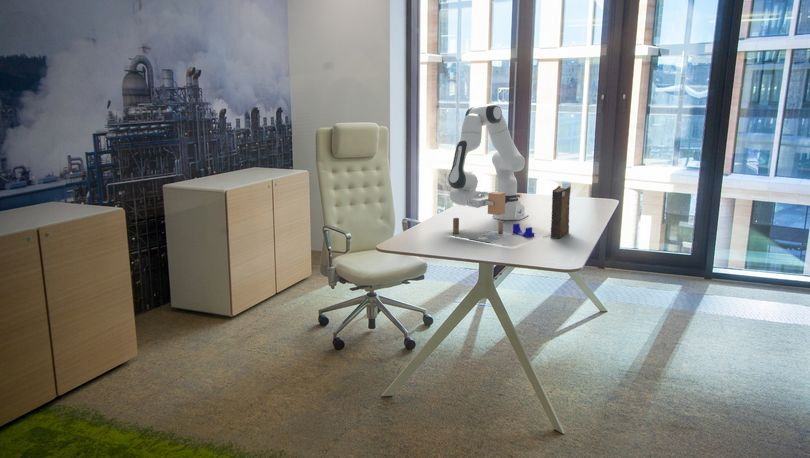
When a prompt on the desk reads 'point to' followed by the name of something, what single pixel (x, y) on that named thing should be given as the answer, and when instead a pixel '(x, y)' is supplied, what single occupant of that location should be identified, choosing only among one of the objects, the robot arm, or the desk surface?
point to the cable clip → (518, 231)
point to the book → (560, 212)
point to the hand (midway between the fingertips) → (498, 202)
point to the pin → (455, 226)
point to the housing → (496, 203)
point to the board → (491, 234)
